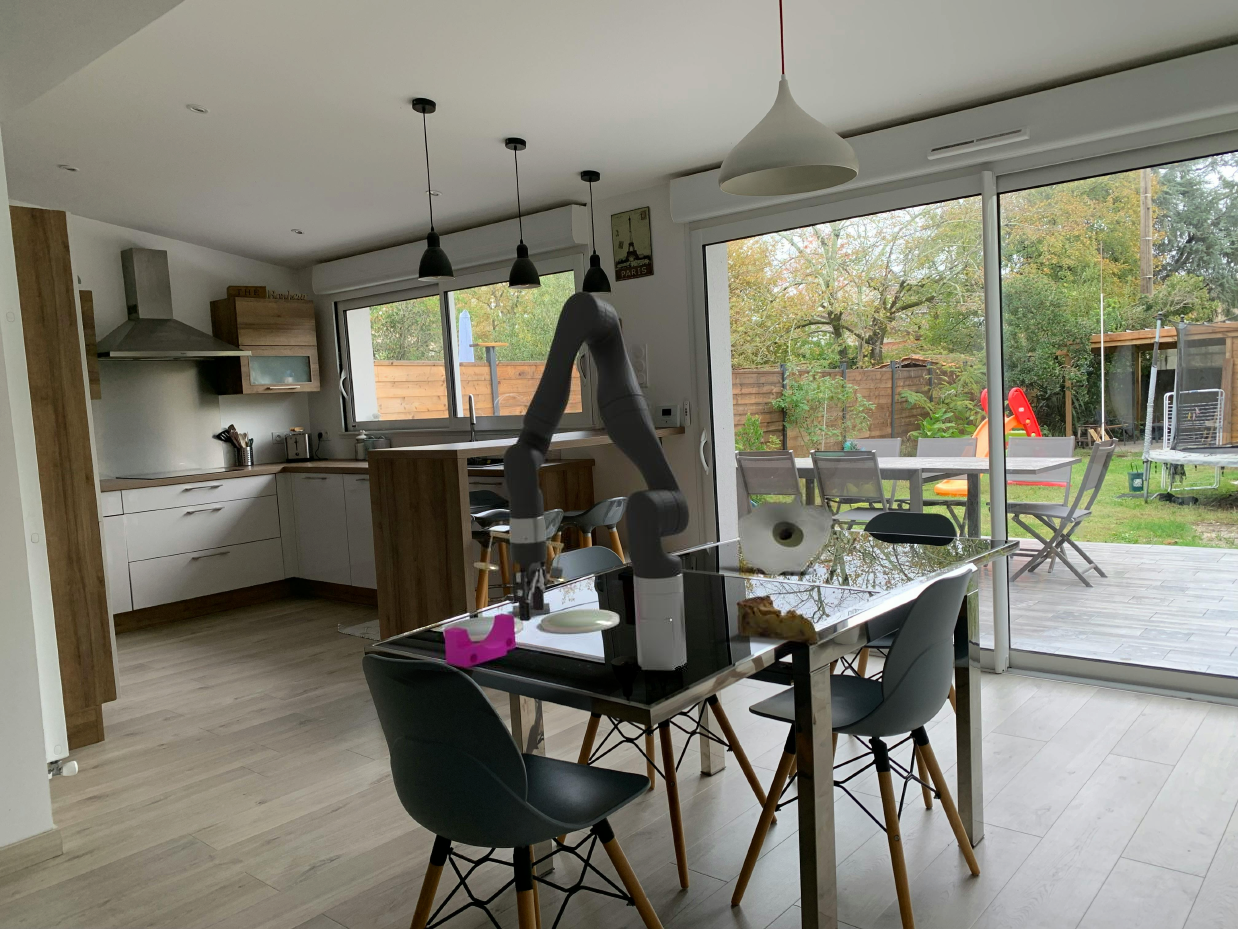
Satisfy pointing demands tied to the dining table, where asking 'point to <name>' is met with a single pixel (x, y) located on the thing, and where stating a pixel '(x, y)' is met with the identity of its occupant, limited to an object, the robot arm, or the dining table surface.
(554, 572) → the balance beam
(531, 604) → the balance stand
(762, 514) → the flower planter
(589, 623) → the sage dish
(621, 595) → the dining table surface
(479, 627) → the grey dish
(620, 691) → the dining table surface
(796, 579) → the dining table surface
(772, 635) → the pie slice
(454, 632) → the toy block
